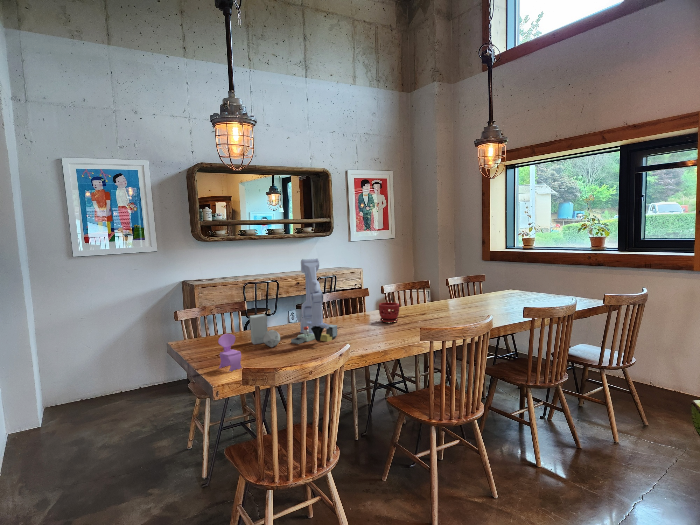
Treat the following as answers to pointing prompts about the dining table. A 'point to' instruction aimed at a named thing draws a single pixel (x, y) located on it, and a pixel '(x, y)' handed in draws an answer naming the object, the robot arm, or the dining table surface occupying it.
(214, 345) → the dining table surface
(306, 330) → the pin
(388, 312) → the plant pot
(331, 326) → the castor
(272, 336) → the die
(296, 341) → the pin socket
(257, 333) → the skincare box
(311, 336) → the tray
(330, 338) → the block
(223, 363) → the toy chair
